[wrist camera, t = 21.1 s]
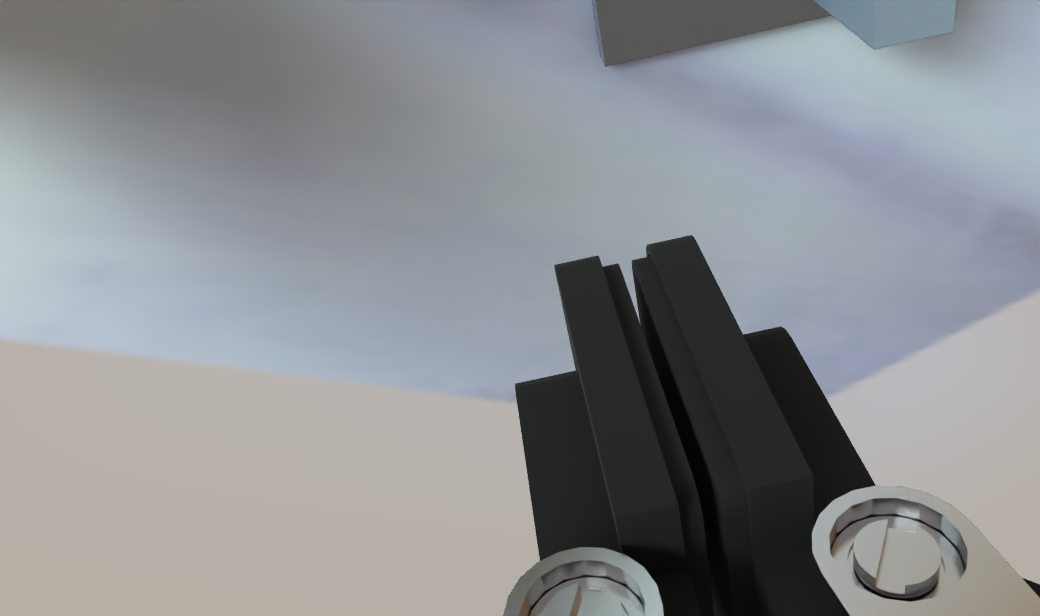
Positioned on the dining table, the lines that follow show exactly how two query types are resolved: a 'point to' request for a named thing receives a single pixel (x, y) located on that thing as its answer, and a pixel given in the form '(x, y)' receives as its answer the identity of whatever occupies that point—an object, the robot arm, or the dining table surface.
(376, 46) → the dining table surface
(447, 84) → the dining table surface
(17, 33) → the dining table surface
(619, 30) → the vise
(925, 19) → the slide jaw
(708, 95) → the dining table surface
